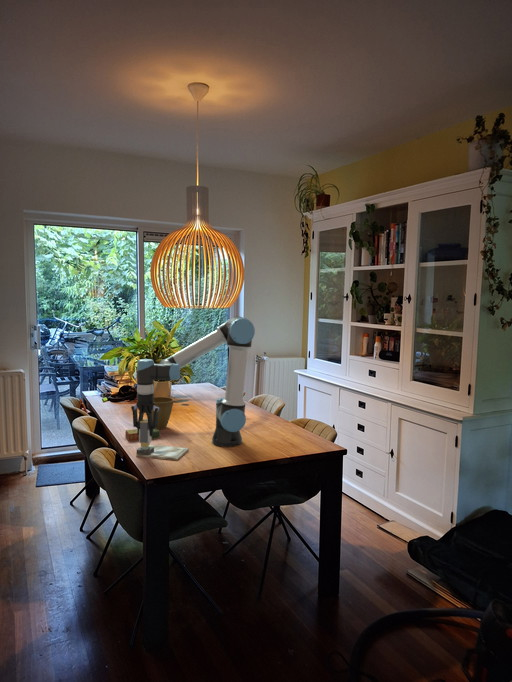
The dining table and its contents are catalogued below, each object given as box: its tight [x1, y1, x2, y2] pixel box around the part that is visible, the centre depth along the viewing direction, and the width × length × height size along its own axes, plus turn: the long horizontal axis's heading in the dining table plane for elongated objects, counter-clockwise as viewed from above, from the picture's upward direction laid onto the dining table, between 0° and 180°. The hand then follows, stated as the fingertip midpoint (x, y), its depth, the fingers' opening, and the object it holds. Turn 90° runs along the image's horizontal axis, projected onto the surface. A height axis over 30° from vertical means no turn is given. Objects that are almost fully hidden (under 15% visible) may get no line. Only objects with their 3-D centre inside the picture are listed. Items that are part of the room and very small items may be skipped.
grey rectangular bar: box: [140, 418, 151, 447], centre depth 232 cm, size 4×4×12 cm
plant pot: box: [151, 396, 174, 430], centre depth 277 cm, size 15×15×16 cm
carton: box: [124, 428, 161, 442], centre depth 259 cm, size 8×16×4 cm, turn 117°
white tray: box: [136, 443, 189, 461], centre depth 235 cm, size 20×15×3 cm
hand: (145, 442), depth 232 cm, fingers closed on grey rectangular bar, 3 cm apart
